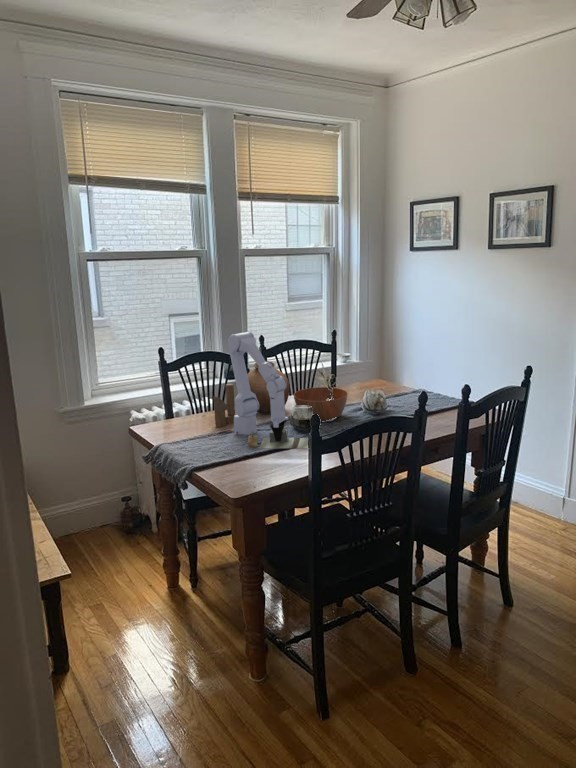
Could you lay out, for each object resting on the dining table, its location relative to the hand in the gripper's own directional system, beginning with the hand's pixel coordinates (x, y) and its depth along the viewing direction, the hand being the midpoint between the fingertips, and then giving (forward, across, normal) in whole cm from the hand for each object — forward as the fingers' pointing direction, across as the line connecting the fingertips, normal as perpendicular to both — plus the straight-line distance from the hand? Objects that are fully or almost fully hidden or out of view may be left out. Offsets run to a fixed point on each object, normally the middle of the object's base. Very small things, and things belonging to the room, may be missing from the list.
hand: (279, 438), depth 233 cm
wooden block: (+2, +26, +28) cm, 38 cm away
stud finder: (+1, 0, 0) cm, 1 cm away
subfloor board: (+2, -3, -3) cm, 5 cm away
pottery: (+2, +43, +12) cm, 45 cm away
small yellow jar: (+2, -6, +10) cm, 12 cm away
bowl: (+2, +35, -15) cm, 38 cm away
